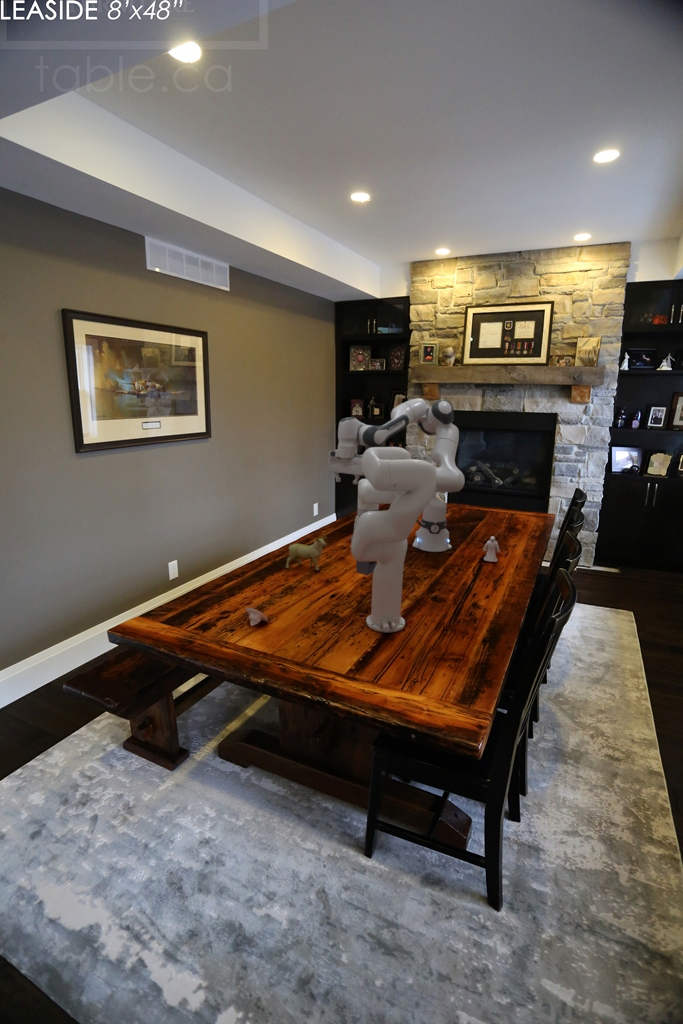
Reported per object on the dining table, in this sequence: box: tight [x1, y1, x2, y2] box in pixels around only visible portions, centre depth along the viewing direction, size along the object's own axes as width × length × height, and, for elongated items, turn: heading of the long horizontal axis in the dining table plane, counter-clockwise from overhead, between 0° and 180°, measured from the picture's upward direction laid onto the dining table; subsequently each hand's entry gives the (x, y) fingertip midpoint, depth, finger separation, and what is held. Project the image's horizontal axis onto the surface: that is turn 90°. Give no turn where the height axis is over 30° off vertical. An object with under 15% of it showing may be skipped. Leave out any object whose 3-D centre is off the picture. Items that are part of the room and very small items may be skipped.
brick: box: [355, 560, 378, 576], centre depth 184 cm, size 5×6×9 cm
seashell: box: [245, 607, 269, 627], centre depth 160 cm, size 8×5×8 cm
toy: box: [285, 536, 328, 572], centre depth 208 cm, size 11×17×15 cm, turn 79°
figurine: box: [482, 535, 501, 563], centre depth 223 cm, size 8×8×12 cm
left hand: (366, 560), depth 184 cm, fingers closed on brick, 5 cm apart
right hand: (346, 482), depth 233 cm, fingers open, 8 cm apart
